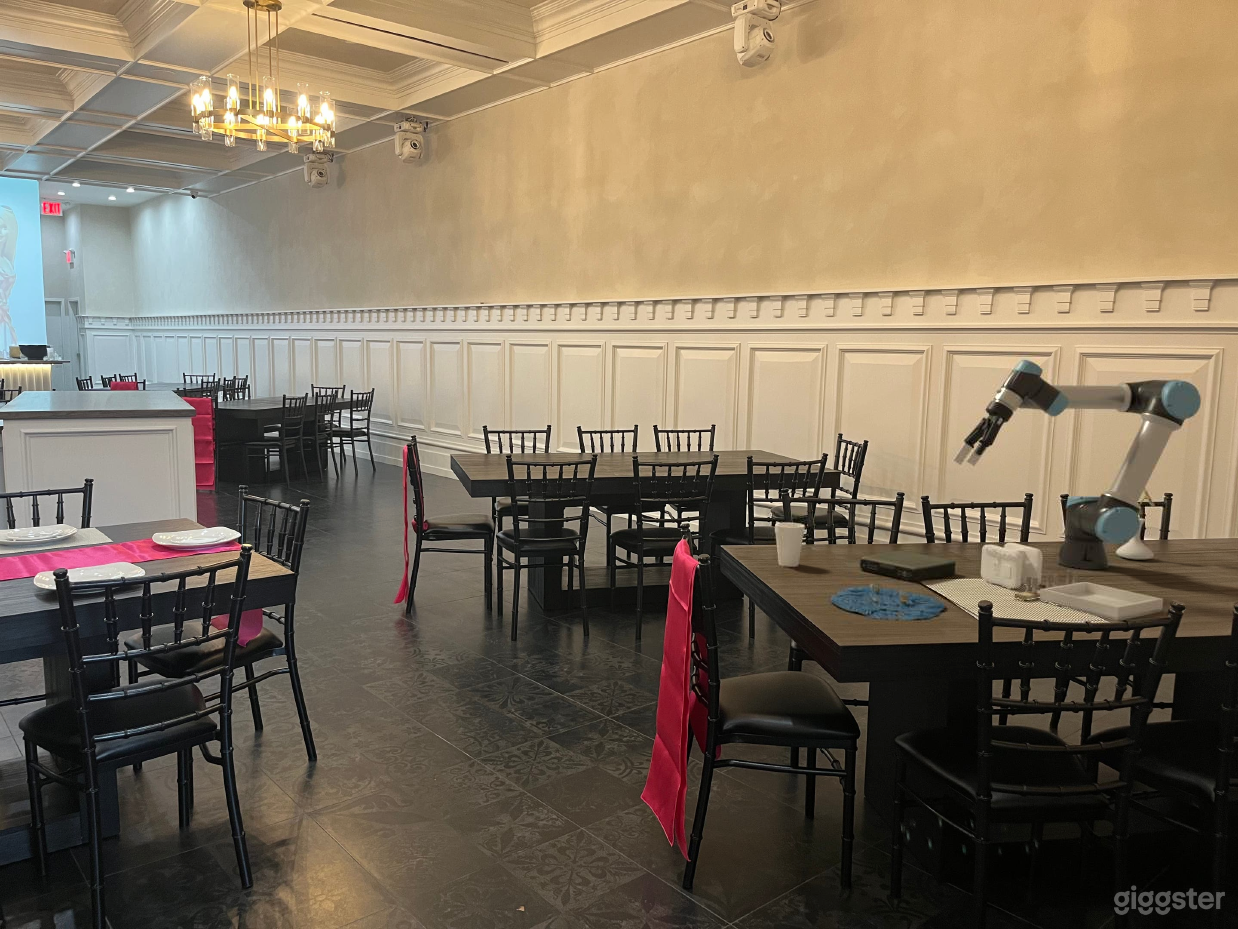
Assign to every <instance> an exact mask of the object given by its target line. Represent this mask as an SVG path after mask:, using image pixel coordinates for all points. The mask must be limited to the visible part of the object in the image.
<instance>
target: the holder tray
mask: <svg viewBox="0 0 1238 929" xmlns="http://www.w3.org/2000/svg"><path fill="white" fill-rule="evenodd" d="M1039 590H1040V599H1039V601H1040V600H1042V601H1048V602H1051V603H1053V604H1058V605H1060V606H1063V607H1068V608H1071V609H1074V610H1073V611H1075V610H1078V611H1077V612H1079V611H1082V612H1081V613H1083V612H1085V613H1084V614H1087V613H1089V614H1088V615H1091V616H1096V617H1100V618H1102V619H1103V618H1104V619H1107V620H1110V621H1111V620H1112V621H1115V622H1120V621H1123V620H1128V619H1133V618H1138V617H1142V616H1147V615H1148V616H1149V615H1152V614H1153V615H1154V614H1157V613H1161V612H1163V605H1164V604H1163V603H1164V598H1161V597H1156V596H1152V595H1147V594H1143V593H1138V592H1134V591H1129V590H1124V589H1120V588H1116V587H1110V586H1106V585H1102V584H1097V583H1094V582H1093V583H1092V582H1088V581H1081V582H1077V583H1075V584H1072V583H1071V584H1068V585H1065V584H1064V585H1063V584H1062V585H1058V586H1056V587H1053V586H1051V587H1050V588H1045V587H1044V588H1040V589H1039ZM1060 606H1059V607H1060ZM1063 607H1062V608H1063ZM1071 609H1070V610H1071Z"/></svg>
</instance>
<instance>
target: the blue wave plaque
mask: <svg viewBox="0 0 1238 929" xmlns="http://www.w3.org/2000/svg"><path fill="white" fill-rule="evenodd" d="M829 600H830V602H831V603H832V604H834V605H835V606H836V607H839V608H840V609H843V610H845V611H848V612H857V613H859V614H862V615H863V616H865V617H868V618H870V619H878V620H879V619H882V620H883V619H884V620H892V621H893V620H895V621H897V620H901V621H902V620H903V621H913V620H917V619H919V620H923V619H925V620H927V619H932V618H933V617H935V616H940V615H941V614H942V612H941V611H942V610H944V609H945V607H946V604H944V603H943V602H941V601H940V600H939V599H937V598H934V597H931V596H927V595H920V594H917V593H916V592H915V593H914V592H912V593H911V592H909V591H904V590H903V591H902V590H900V588H898V589H897V590H896V589H895V590H894V589H886V587H885V588H884V587H880V586H878V585H876V583H870V584H869V586H865V585H864V586H863V585H862V586H858V587H848V588H844V589H843V590H840V591H838V592H837V593H835V594H834V595H833V596H831V597H830V599H829ZM896 615H897V616H898V617H897V616H896Z"/></svg>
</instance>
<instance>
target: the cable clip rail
mask: <svg viewBox="0 0 1238 929" xmlns="http://www.w3.org/2000/svg"><path fill="white" fill-rule="evenodd" d="M1052 573H1053V572H1052ZM1052 573H1051V572H1048V573H1046V579H1045V580H1046V584H1045V587H1044V588H1050V587H1056V586H1059V584H1058V583H1059V574H1057V573H1056V574H1053V575H1052ZM1078 576H1079V571H1072V570H1071V569H1067V570H1066V576H1065V584H1064V585H1068V584H1075V583H1078V578H1079V577H1078ZM1037 583H1038V578H1033V583H1032V587H1031V576H1026V585H1025V590H1024V592H1018V593H1014V599H1015V598H1019V599H1022V600H1027V599H1031V598H1037V597H1040V589H1038V586H1037Z"/></svg>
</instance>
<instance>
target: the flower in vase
mask: <svg viewBox="0 0 1238 929" xmlns="http://www.w3.org/2000/svg"><path fill="white" fill-rule="evenodd" d="M1143 493H1144V497H1143V499H1142V500H1141V501H1140V503H1139V506H1140V511H1139V513H1138V516H1139V515H1143V510H1142V508H1141V505H1142V503H1143V502H1144V501H1145V500H1147V501H1148V503H1149V504H1150V506H1151V507H1152V508H1155V507H1156V505H1155V503H1154V502H1153V499H1152V497H1151V496H1150V494H1149V492H1148V490H1147V489H1146V487H1145V488H1144V490H1143ZM1139 521H1140V528H1139V530H1138V532H1137V534H1136V535H1135V536H1134V537H1133V538H1132V539H1131V540H1129V541H1127V542H1125V543H1124V544H1123V545H1121V546H1120V547H1119V548H1117V550H1116V551H1115V553H1116V555H1118V556H1120V557H1121V558H1126V559H1130V560H1143V561H1144V560H1150V559H1153V558H1154V557H1155V555H1154V552H1153V551H1152V550H1151V549H1150V548H1149V547H1148V546H1146V544H1144V543H1143V542H1142V541H1141V530H1142V526H1143V524H1144V523H1145V521H1146V519H1145V518H1140V517H1139Z"/></svg>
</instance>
